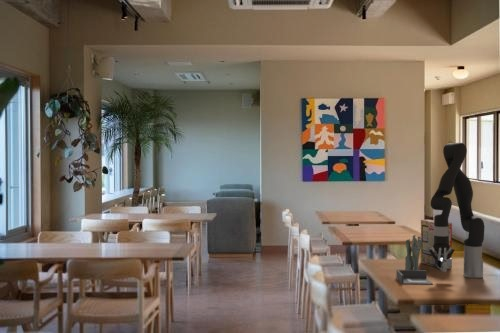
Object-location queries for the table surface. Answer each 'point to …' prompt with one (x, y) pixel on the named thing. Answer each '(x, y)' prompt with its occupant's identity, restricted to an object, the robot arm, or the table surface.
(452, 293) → the table surface
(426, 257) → the board game box
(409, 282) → the grey l-shaped slot base
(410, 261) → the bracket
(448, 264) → the l bracket
